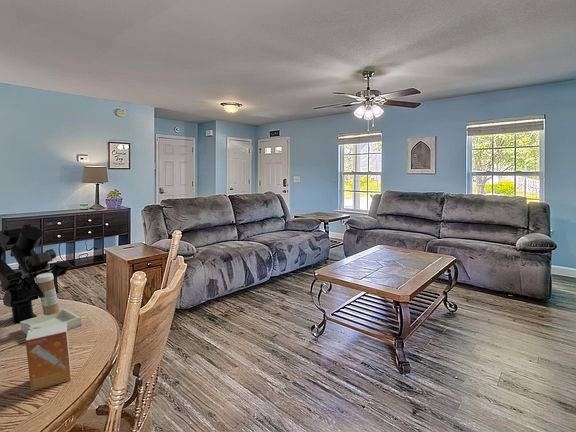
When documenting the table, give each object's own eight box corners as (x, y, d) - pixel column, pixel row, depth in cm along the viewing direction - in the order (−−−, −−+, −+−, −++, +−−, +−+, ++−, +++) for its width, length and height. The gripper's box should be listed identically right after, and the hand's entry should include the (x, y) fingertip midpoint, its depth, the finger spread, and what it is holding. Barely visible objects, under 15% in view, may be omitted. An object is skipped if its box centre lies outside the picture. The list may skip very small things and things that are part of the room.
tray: (21, 330, 109) (20, 321, 109) (65, 316, 120) (64, 308, 119) (35, 341, 102) (34, 332, 101) (81, 325, 112) (80, 317, 112)
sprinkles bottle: (41, 313, 111) (33, 275, 108) (57, 308, 114) (50, 271, 111) (45, 317, 108) (37, 278, 105) (61, 312, 111) (54, 274, 108)
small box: (30, 392, 78) (24, 340, 76) (33, 379, 83) (27, 329, 81) (71, 380, 82) (66, 331, 81) (71, 368, 88) (66, 321, 86)
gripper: (1, 249, 100) (26, 289, 97) (64, 238, 117) (87, 272, 114) (-10, 271, 105) (14, 310, 102) (53, 257, 121) (75, 290, 118)
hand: (50, 294), depth 109 cm, fingers closed on sprinkles bottle, 4 cm apart
